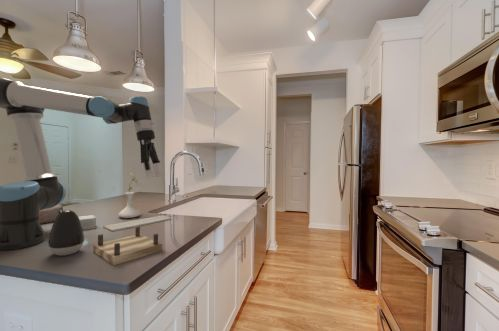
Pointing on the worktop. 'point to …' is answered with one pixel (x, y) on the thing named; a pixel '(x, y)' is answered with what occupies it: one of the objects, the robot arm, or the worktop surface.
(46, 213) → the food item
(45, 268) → the worktop surface
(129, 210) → the flower in vase
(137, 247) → the oak stand
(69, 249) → the dark grey bell shape
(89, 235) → the worktop surface
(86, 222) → the small box
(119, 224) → the baseboard
